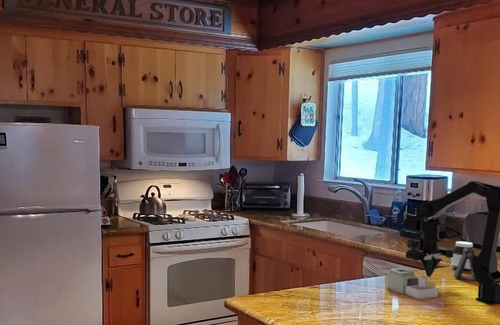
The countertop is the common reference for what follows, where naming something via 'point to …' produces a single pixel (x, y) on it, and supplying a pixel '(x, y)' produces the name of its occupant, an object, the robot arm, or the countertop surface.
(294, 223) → the countertop surface
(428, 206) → the robot arm
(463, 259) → the phone stand
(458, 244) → the spread jar
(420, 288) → the pin
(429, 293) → the tray
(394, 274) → the grey-green hollow stepped block
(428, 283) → the chock
